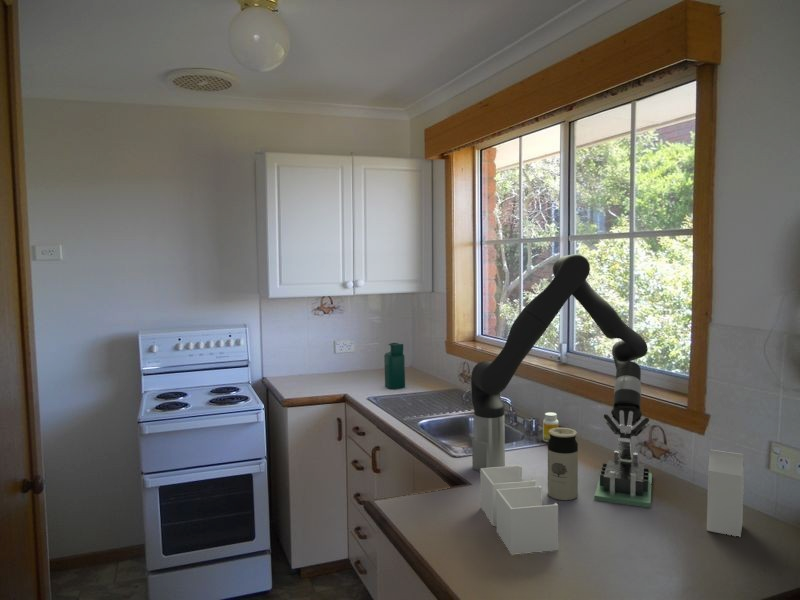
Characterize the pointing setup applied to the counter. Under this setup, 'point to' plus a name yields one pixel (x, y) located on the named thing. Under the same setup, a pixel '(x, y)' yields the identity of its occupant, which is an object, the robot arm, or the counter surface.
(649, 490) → the circuit board
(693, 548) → the counter surface
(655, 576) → the counter surface
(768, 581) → the counter surface
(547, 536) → the white divided organizer
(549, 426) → the supplement bottle
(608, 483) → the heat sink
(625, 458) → the retention strap
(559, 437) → the travel mug
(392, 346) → the green bottle
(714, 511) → the milk carton
